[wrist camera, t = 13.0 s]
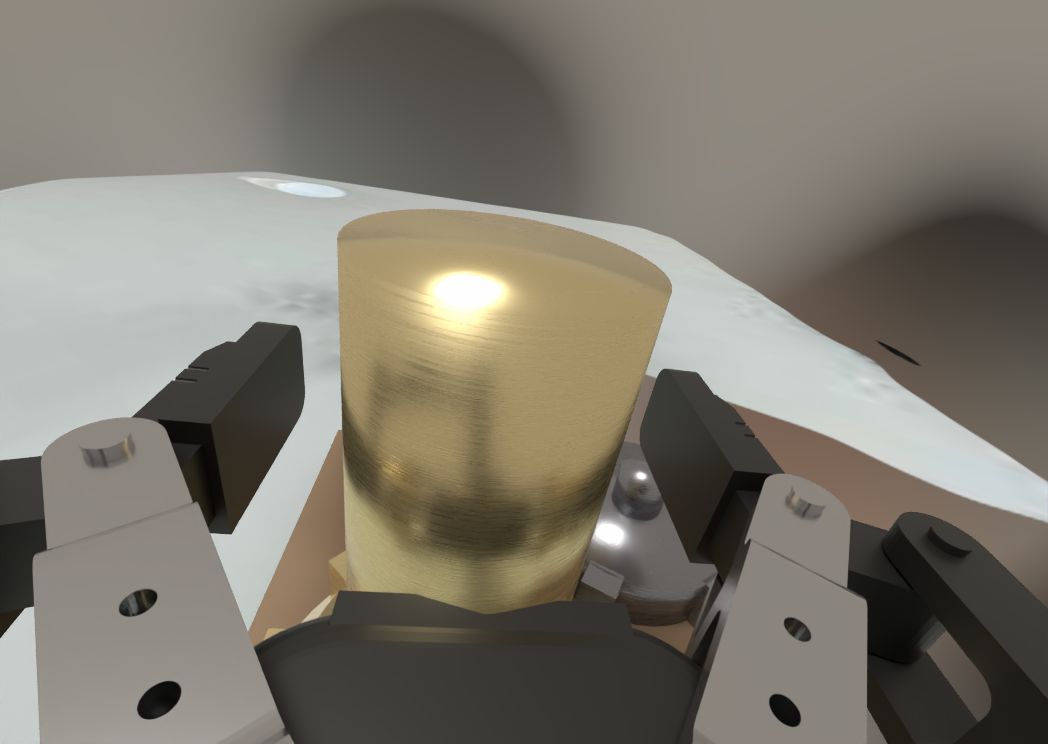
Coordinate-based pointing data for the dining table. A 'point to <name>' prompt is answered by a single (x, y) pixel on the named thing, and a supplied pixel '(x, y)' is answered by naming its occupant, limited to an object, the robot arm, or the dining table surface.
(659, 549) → the gear
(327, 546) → the gear board
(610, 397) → the cylinder
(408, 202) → the dining table surface
